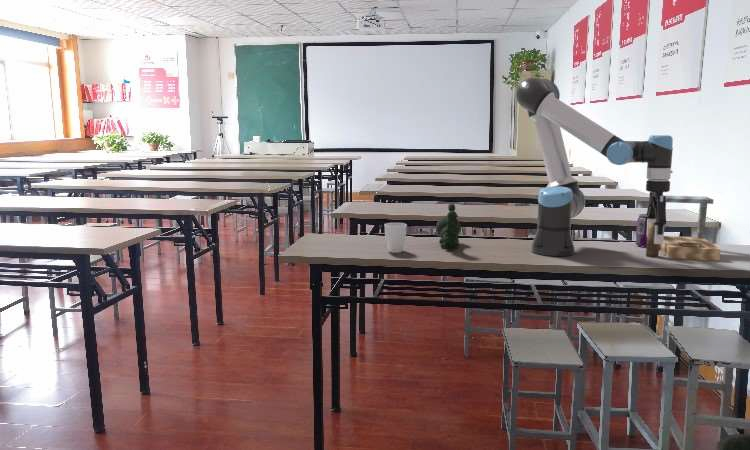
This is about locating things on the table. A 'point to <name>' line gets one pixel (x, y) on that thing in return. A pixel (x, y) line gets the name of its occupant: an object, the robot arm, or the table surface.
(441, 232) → the toy figurine
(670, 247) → the socket station
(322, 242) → the table surface
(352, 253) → the table surface
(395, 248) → the cup
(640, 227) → the beverage can
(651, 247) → the peg
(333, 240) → the table surface
